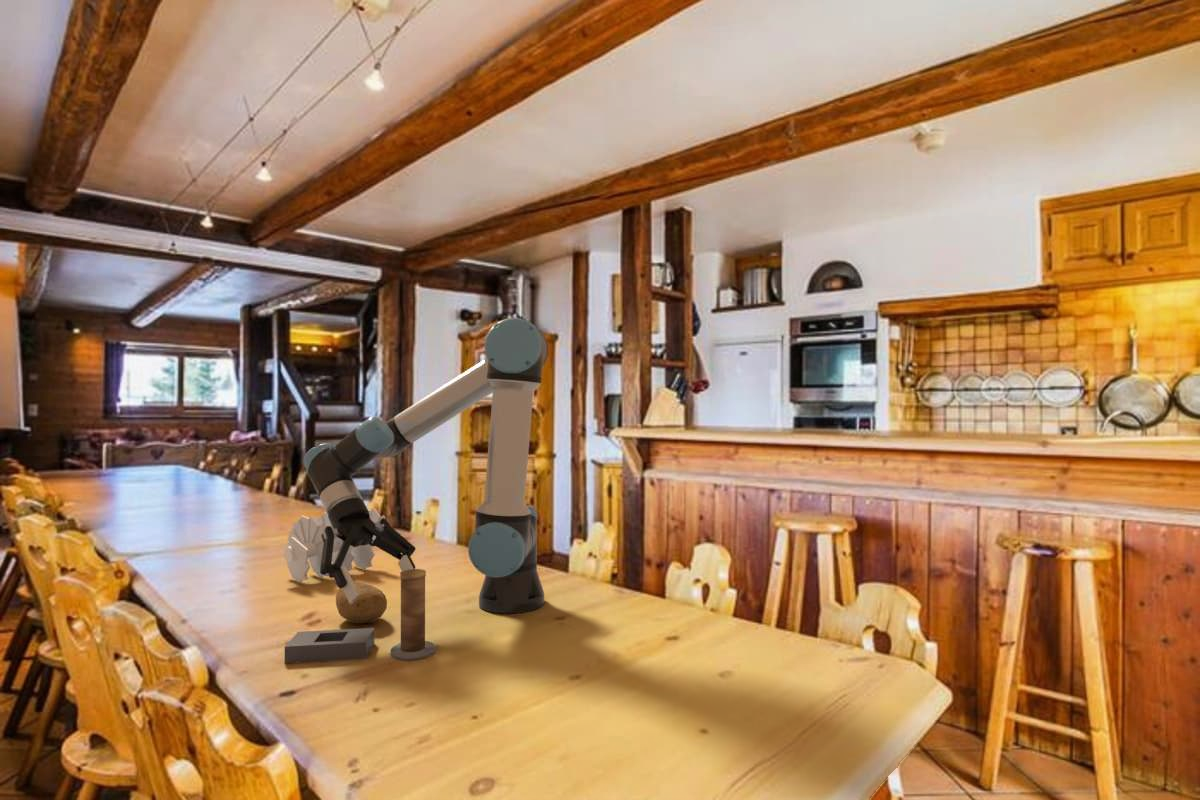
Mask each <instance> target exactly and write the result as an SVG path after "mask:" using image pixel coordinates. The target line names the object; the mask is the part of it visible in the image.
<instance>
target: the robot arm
mask: <svg viewBox="0 0 1200 800" xmlns="http://www.w3.org/2000/svg"><path fill="white" fill-rule="evenodd" d="M549 349H550V348H549V344H548V341H547V338H546V337H545V335H544V334H543V332H541V331H540V330H539V329H538V327H537V326H536V325H535V324H533V323H532V322H531V321H528V320H526V319H523V318H520V317H519V318H517V317H509V318H505V319H502V320H500V321H498V322H497V323H495V324H494V325H493V326H492V327H491V328H490V329H489V331H488V332H487V334H486V337H485V340H484V353H485V355H484V359H483V360H481V361H480V362H478V363H476V364H475V365H474V366H472V367H470V368H469V369H467V370H465V371H464V372H463V373H461V374H459V375H458V376H456V377H455V378H453V379H452V380H450V381H449V382H447V383H444V384H443V385H442V386H441V387H439V388H437V389H436V390H435V391H433V392H432V393H429V394H428V395H427V396H425V397H423V398H422V399H420V400H418V401H417V402H415V403H414V404H412V405H411V406H409V407H408V408H406V409H404V410H403V411H401V412H399V413H398V414H396V415H395V416H393V417H392V418H390V419H389V420H386V421H384V420H383V419H381V418H379V417H377V416H370V417H369V418H367V419H365V420H364V421H363V422H360V423H359V424H358V425H357V426H356V428H355V427H354V429H352V431H350V432H349V433H348V434H347V435H345V436H344V437H343V438H342V439H341V440H340V441H338V442H337V443H336V444H333V443H328V442H327V443H321V444H318V445H317V446H316V447H315V446H314V447H312V448H310V449H309V450H308V451H307V452H306V453H305V455H304V457H303V464H304V467H305V470H306V474H307V477H308V478H309V479H310V481H311V483H312V485H313V487H314V489H315V491H316V494H317V496H318V498H319V500H320V502H321V505H322V507H323V509H324V512H326V513H327V515H328V518H329V520H330V522H331V525H332V527H333V529H332V527H330V526H327V527H326V528H325V530H324V531H323V533H322V535H321V536H322V540H323V551H322V559H321V567H320V573H321V574H322V575H325V574H326V573H328V574H329V576H328V577H329V578H330V579H334V581H335V583H336V586H337V587H338V588H343V591H344V593H345V595H346V597H347V599H348V602H349V604H353V603H354V602H355V601H356V599H357V598H358V596H359V594H358V591H357V589H356V587H355V585H354V583H353V581H354V580H353V579H352V576H351V574H350V572H349V571H348V570H347V568H346V567H342V569H341V566H342V563H343V561H344V559H345V556H346V554H347V552H348V549H349V547H350V546H353V547H357V546H360V545H368V544H369V545H371V546H373V547H377V548H378V549H380V550H382V551H383V552H385V553H386V554H388V555H390V556H392V557H393V558H395V559H397V560H399V561H398V562H397V564H398V566H399V568H400V570H401V572H402V571H405V570H411V569H416V565H415V563H414V561H413V559H412V557H411V556H412V555H413V554H414V552H415V551H416V547H415V546H414V545H413V544H412V543H411V542H410V541H408V539H406V538H405V537H404V536H403V535H401V533H399V532H398V531H397V530H396V529H394V528H393V527H392V526H391V524H389V522H388V520H387V519H384V518H382V519H381V521H380V522H376V523H374V522H373V521H372V520H371V519H370V515H369V511H368V510H369V509H368V507H367V506H366V504H365V502H364V500H363V499H362V498H363V497H362V495H361V493H360V491H359V489H358V487H357V485H356V483H355V482H354V480H353V477H352V476H354V475H355V474H356V473H358V472H359V471H360V470H361V469H363V468H364V467H365V466H367V465H368V464H369V463H370V462H372V461H375V460H381V459H387V458H393V457H396V456H398V455H400V454H401V453H403V452H404V451H405V450H406V449H407V448H408V447H409V446H411V444H413V443H415V442H416V441H418V440H419V439H420V440H421V438H422V437H424V436H426V435H428V434H429V433H431V432H432V431H433V430H435V429H437V428H439V427H441V426H442V425H444V424H445V423H446V422H448V421H450V420H451V419H453V418H454V417H456V416H457V415H459V414H461V413H463V412H465V411H466V410H467V409H469V408H470V407H472V406H475V404H477V403H478V402H480V401H482V400H483V399H485V398H487V397H488V396H490V395H491V394H492V398H491V410H490V411H491V412H490V421H489V435H488V447H487V449H488V450H487V458H486V459H487V460H486V474H485V486H484V496H483V497H484V498H483V499H484V500H482V503H480V504H479V505H478V506H476V509H475V516H474V517H475V518H474V519H475V521H474V529H473V533H472V534H471V536H470V537H469V538H470V539H469V541H468V547H467V549H468V551H467V552H468V557H469V560H470V562H471V564H472V565H473V566H474V568H475V569H476V570H477V571H478V572H479V573H481V574H483V575H485V577H484V578H483V583H482V586H481V589H480V592H479V596H478V607H479V609H482V610H483V611H486V612H489V613H490V612H491V613H498V614H517V613H525V612H530V611H535V610H537V609H540V608H541V607H543V606H544V604H545V591H544V588H543V586H542V583H541V582H542V581H541V579H540V576H539V572H538V566H537V565H538V562H537V561H538V554H537V553H538V549H537V548H538V546H537V545H538V543H537V542H538V525H537V523H538V512H537V508H536V506H534V505H526V503H525V499H526V487H527V476H528V475H527V474H528V464H529V463H528V462H529V451H530V450H529V449H530V437H531V436H530V435H531V425H532V412H533V400H534V392H535V391H536V390H537V389H538V388H540V386H541V385H542V376H543V367H544V366H545V364H546V362H547V360H548V357H549V354H550V353H549ZM374 535H375V536H376V538H375V539H374V540H373V539H372V538H373V536H374ZM335 536H337V537H338V538H340V539H341V540H343V543H342V545H341V548H340V551H339V553H338V555H337V558H336V560H335V562H334V564H333V563H332V564H331V562H332V553H333V544H334V538H335Z"/></svg>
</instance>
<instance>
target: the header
mask: <svg viewBox="0 0 1200 800" xmlns="http://www.w3.org/2000/svg"><path fill="white" fill-rule="evenodd" d="M374 645H375V627H368V628H367V627H366V628H365V627H364V628H348V629H346V628H345V629H329V630H328V629H327V630H308V631H307V630H306V631H297V632H296V633H295V635H293V637H292V638H291V639H290V640H289V641H288V642H287V643H286V645H284V664H299V663H300V664H302V662H303V663H316V662H317V663H319V661H320V662H333V661H334V662H335V661H350V660H351V659H354V660H366V659H368V656H369V655H370V653H371V651H372V649H373V647H374ZM368 654H369V655H368ZM351 661H352V660H351Z"/></svg>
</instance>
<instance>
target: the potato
mask: <svg viewBox="0 0 1200 800" xmlns="http://www.w3.org/2000/svg"><path fill="white" fill-rule="evenodd" d="M352 581H353V583H354V585H355V587H356V589H357V591H358V594H359V596H358V598H357V599H356V601H355V602H354V603H353V604H349V602H348V599H347V597H346V595H345V593H344V591H343V588H339V587H338V588H339V589H338V590H337V592H336V595H335V605H336V608H337V611H338V614H339V615H340V617H342V618H344V619H345V620H347V621H349V622H350V623H352V624H364V623H367V624H369V623H370V624H372V623H373V622H375V621H376V620H378V619H380V618H382V616H383V614H384V613H385V611H386V610H387V606H388V599H387V597H386V594H385V593H384V592H383V591H381V589H380V588H377V587H376V586H373V585H372V584H368V583H365V582H361V581H357V580H352Z"/></svg>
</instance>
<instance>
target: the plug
mask: <svg viewBox="0 0 1200 800" xmlns="http://www.w3.org/2000/svg"><path fill="white" fill-rule="evenodd" d="M399 574H400V575H399V577H400V643H401V651H404V652H416V651H420V650H422V649H424V648H425V641H426V576H427V571H426V570H425V569H423V568H422V569H421V568H415V569H411V570H405V571H402V570H401V571H400V573H399Z"/></svg>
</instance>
